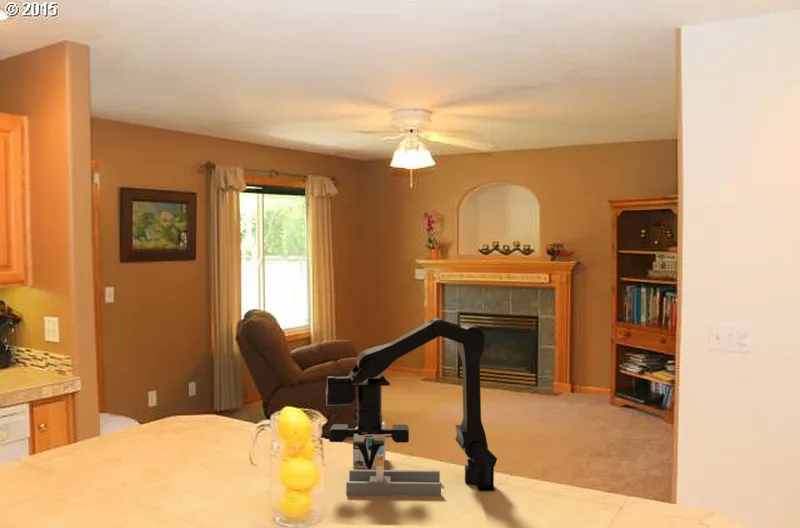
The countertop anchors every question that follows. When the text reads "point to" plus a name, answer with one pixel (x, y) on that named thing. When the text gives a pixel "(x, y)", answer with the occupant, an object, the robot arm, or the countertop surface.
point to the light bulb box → (358, 457)
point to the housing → (395, 483)
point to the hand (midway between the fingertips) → (369, 468)
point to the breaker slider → (380, 471)
